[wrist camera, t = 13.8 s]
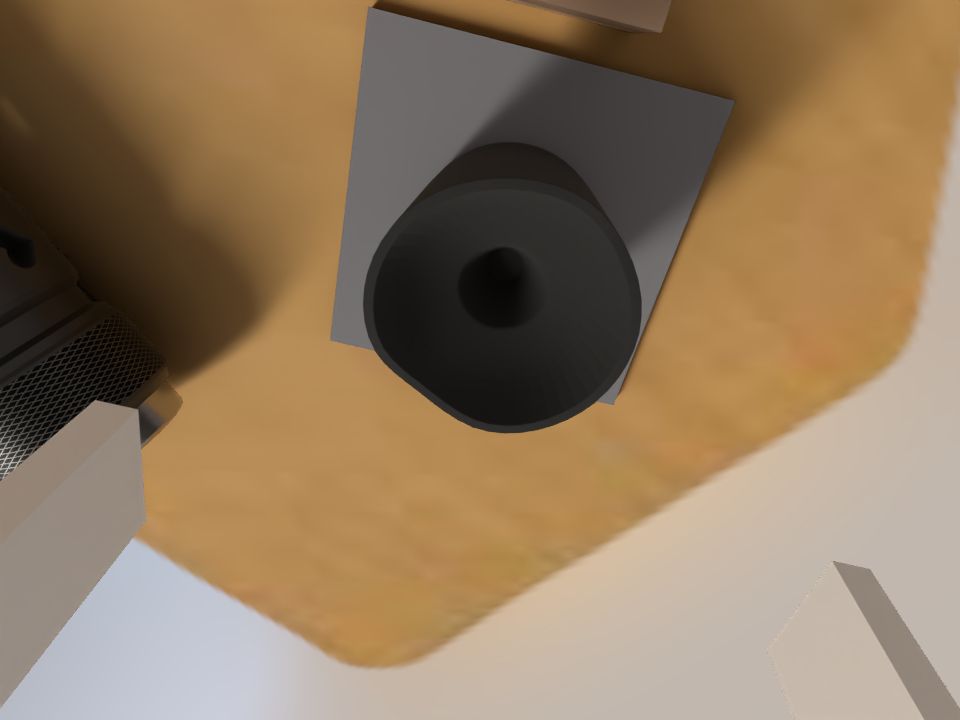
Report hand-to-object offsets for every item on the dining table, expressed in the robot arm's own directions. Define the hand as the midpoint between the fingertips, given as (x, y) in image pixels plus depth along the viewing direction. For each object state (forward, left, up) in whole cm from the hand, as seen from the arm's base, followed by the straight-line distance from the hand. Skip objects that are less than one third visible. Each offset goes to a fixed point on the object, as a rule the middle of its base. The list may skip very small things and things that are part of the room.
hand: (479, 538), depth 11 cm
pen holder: (0, 0, -20) cm, 20 cm away
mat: (0, 0, -21) cm, 21 cm away
